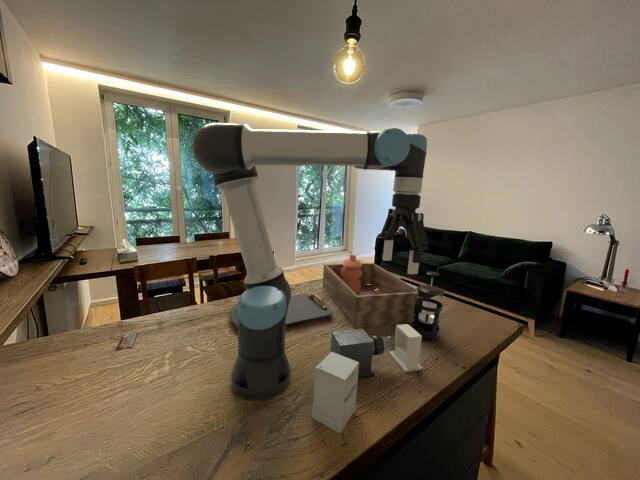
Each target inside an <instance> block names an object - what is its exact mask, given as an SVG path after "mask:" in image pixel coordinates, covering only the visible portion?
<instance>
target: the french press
mask: <svg viewBox="0 0 640 480" xmlns="http://www.w3.org/2000/svg"><path fill="white" fill-rule="evenodd" d="M426 274H427V275H429V276H430V280H431V282H430V285H428V284H421V285H418V286H417V287H416V289H417V290H418V295H419V296H420V297H416V298H415V306H414V314H413V319H414V321H413V322H412V326H411V327H412V328H413V329H414V330H415V331H417V332H418V333H419V334H420V335H421V336H422V340H421V341H425V342H435V341H438V340H439V339H440V327H439V323H440V322H441V319H440V314H441V312H442V311H443V307H444V305H443V303H442V302H440V301H439V300H436V299H433V298H434V297H436V296H438V297H439V296H440V297H441V298H443V296H444V295H445V290H444V289H442V288H440V287H437V286H433V279H434V277H439V276H440V273H439V272H435V271H426ZM421 297H422V298H421ZM423 302H426V303H428V304H427V306H424V305H423ZM430 303H431V304H435V305H436V308H435V307H430ZM423 311H425V312H423ZM429 312H430V313H429ZM432 313H434V314H432ZM427 330H428V331H427Z"/></svg>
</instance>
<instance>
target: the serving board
mask: <svg viewBox="0 0 640 480" xmlns="http://www.w3.org/2000/svg"><path fill="white" fill-rule="evenodd" d="M237 306H238V303H237V304H235V305H232V307H231V308H230V309H231V310H230V312H229V318H230V321H231V323H232V324H233V325H234V326H235V327H236V328H238V317H237ZM331 316H333V312H332V309H331V307H330V306H329V305H328V304H327V302H325V301H324V299H322V297H321V296H320V295H318V293H311V294H310V293H299V294H294V295H292V294H291V299H290V303H289V306H288V311H287V317H286V323H285V326H289V325H293V324H298V323H301V322H306V321H312V320H317V319H321V318H325V319H330V318H331Z"/></svg>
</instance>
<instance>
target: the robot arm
mask: <svg viewBox="0 0 640 480" xmlns="http://www.w3.org/2000/svg"><path fill="white" fill-rule="evenodd" d="M192 138H193V139H192V143H191V149H192V150H191V151H192V153H193V156H194V159H195V161H196V162H197V163H198V165H199V166H200V167H202V169H203V170H205V171H206V172H208V173H210V174H211V175H212V178H213V181H214V185H215V187H216V188H217V189H218V190H220V191H222V192H223V195H224V198H225V201H226V202H225V203H226V205H227V208H228V212H229V215H230V219H231V222H232V225H233V229H234V232H235V236H236V239H237V243H238V247H239V250H240V254H241V256H242V260H243V263H244V266H245V270H246V276H245V277H244V279H243V282H244V286H245V289H246V290H245V291H244V292H242V293H241V295H240V296H239V299H238V300H237V304H238V306H237V317H238V327H237V356H236V359H235V361H234V364H233V367H232V370H231V373H230V374H231V375H230V386H231V389H232V391H233V392H234V394H236V395H237V396H238V397H240V398H241V399H244V400H249V401H264V400H269V399H272V398H275V397H277V396H279V395H280V394H282V393H283V392H284V391H285V390H286V389H288V387H289V384H290V383H291V379H292V378H291V377H292V375H291V372H292V371H291V370H292V369H291V366H290V362H289V359H288V357H287V353H286V350H285V349H286V348H285V347H286V325H285V323H286V317H287V311H288V306H289V303H290V299H291V296H292V290H291V286H290V283H289V281H288V280H287V279H286V276H285V273H284V269H283V268H281V267H279V266H278V265H277V263H276V259H275V256H274V252H273V248H272V245H271V241H270V240H271V239H270V238H269V233H268V230H267V227H266V226H267V225H266V223H265V218H264V215H263V212H262V211H263V210H262V207H261V203H260V200H259V196H258V193H257V188H256V183H257V182H258V180H259V176H258V175H259V174H258V171H257V167H256V166H293V167H294V166H295V167H296V166H298V167H299V166H308V167H309V166H310V167H311V166H312V167H313V166H316V167H318V166H319V167H320V166H322V167H323V166H324V167H328V166H329V167H334V166H335V167H339V166H340V167H347V166H348V167H354V168H355V169H358V170H360V169H361V170H364V171H366V170H370V171H371V170H374V171H391V172H394V181H393V190H392V191H393V192H394V193H393V194H392V200H391V206H392V207H393V208H389V209H388V210H387V211H388V212H387V216H386V219H385V222H384V225H383V227H382V230H381V232H380V237H382V238H383V240H384V241H383V253H382V261H383V262H385V261H389V262H390V261H392V258H393V247H394V237H395V235H396V234H397V232H398V230H399V229H400V227H402V228H403V230H406V234H407V236H408V239H409V240H408V241H409V243H410V245H411V248H410V249H409V258H408V264H407V265H408V266H407V274H408V275H418V274H419V266H420V262H421V259H422V258H421V256H422V253H423V251H428V249H429V247H428V240H427V234H426V230H425V225H424V223H425V222H424V217H425V215H424V213H423V212H416V211H417V209H419V208H420V205H421V199H422V198H421V197H422V196H421V195H420V193H422V187H423V180H424V179H423V178H424V171H425V164H426V157H427V149H428V148H427V147H428V138H427V137H426V136H425V135H423V134H419V133H406V132H405V131H404V130H402V129H401V128H398V127H390V128H387V129H384V130H380V131H378V130H377V131H373V130H372V131H370V130H369V131H368V130H367V131H366V130H363V131H362V130H313V129H312V130H308V129H307V130H306V129H256V128H255V129H253V128H252V127H250V125H248V124H247V123H245V124H244V123H228V122H227V123H225V122H224V123H223V122H212V123H207V124H205V125H203V126H201V127H200V128H199V129H198V130H197V131H196V133H195V134H194V136H193V137H192Z"/></svg>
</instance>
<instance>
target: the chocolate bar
mask: <svg viewBox="0 0 640 480" xmlns="http://www.w3.org/2000/svg"><path fill="white" fill-rule="evenodd" d="M122 335H123V336H122ZM122 335H121V337H120V339H119V342H118V344H117V346H116V347H115V350H114V352H117V351H121V350H122V351H123V350H130V349H134V345H135V343H136V340H137V337H138V336H139V332H131V333H126V334H122Z"/></svg>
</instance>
